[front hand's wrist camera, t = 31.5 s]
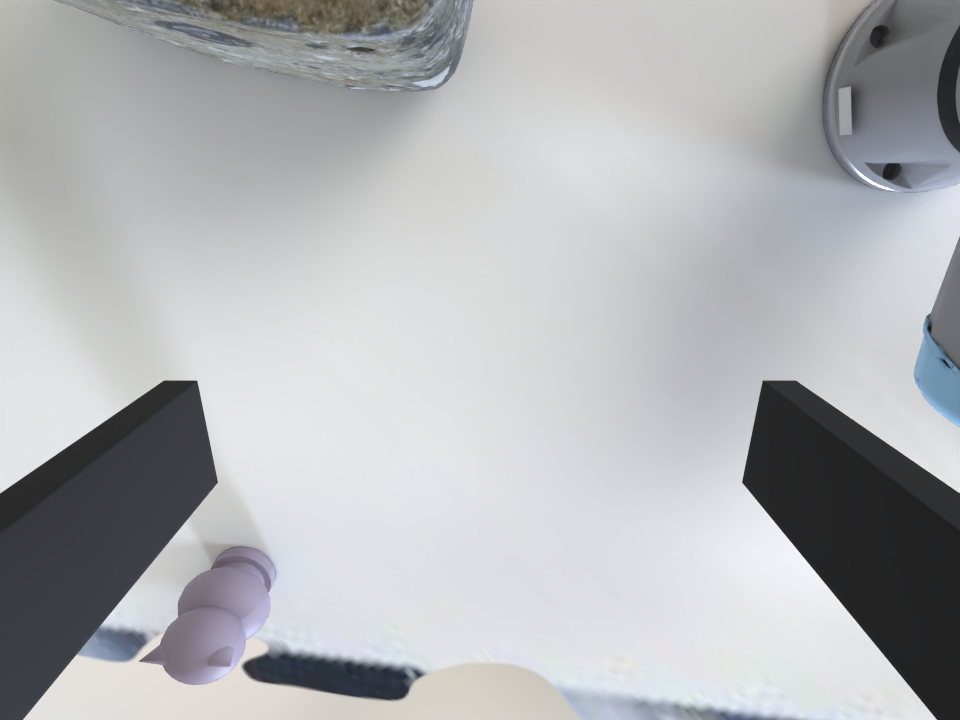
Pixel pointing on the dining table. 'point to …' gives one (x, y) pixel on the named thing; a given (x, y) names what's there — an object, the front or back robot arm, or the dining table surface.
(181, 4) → the concrete block
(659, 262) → the dining table surface
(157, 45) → the dining table surface
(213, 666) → the cat figurine
